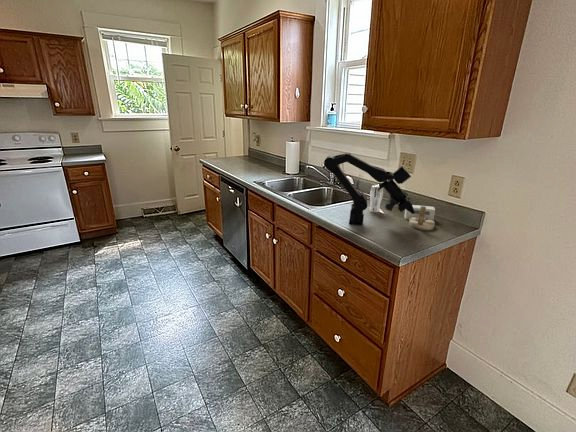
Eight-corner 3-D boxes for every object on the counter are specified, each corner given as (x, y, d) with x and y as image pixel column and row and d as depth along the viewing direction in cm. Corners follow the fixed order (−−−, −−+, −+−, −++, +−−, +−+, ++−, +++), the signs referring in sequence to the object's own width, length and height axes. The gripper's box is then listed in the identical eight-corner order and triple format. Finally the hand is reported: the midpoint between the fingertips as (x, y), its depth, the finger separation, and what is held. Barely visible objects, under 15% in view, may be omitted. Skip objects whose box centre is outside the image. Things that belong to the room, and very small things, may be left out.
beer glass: (382, 210, 181) (386, 185, 176) (377, 213, 176) (380, 188, 171) (371, 208, 185) (374, 183, 180) (365, 210, 180) (368, 185, 175)
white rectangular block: (405, 220, 168) (407, 207, 165) (404, 216, 173) (406, 204, 171) (433, 222, 165) (435, 210, 163) (431, 218, 170) (433, 206, 168)
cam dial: (411, 219, 168) (415, 199, 164) (435, 224, 162) (440, 203, 158) (406, 226, 159) (410, 205, 155) (431, 232, 152) (436, 209, 148)
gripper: (379, 195, 165) (398, 216, 166) (380, 205, 148) (401, 229, 149) (397, 181, 160) (416, 203, 162) (400, 191, 143) (422, 216, 145)
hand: (413, 213), depth 154 cm, fingers closed
